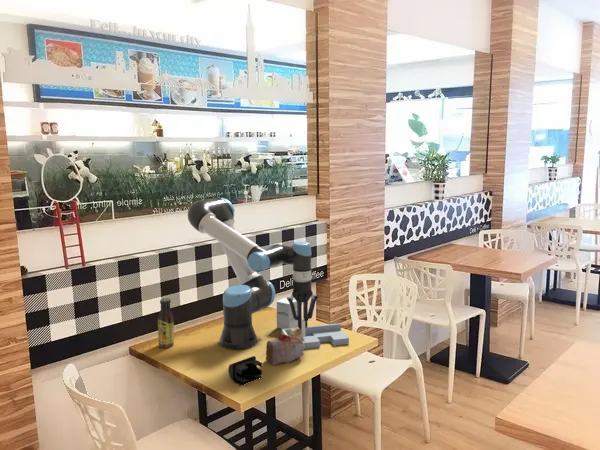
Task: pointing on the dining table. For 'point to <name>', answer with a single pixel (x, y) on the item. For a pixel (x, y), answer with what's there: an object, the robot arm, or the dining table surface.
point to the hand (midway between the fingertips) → (302, 335)
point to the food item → (284, 349)
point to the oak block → (296, 332)
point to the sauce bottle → (165, 325)
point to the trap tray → (321, 335)
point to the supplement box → (286, 314)
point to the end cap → (245, 370)
